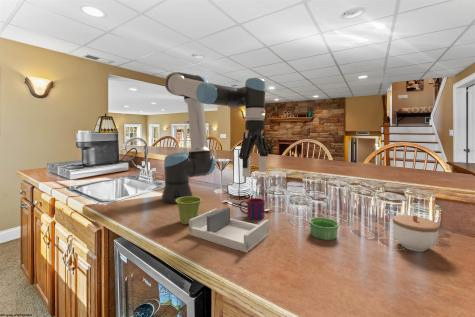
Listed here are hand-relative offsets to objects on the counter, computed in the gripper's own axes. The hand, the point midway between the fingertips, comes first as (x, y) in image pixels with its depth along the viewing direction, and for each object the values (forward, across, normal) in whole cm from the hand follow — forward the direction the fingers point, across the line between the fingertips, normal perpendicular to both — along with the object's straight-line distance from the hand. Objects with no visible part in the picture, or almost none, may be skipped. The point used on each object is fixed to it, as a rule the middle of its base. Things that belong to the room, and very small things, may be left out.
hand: (254, 174), depth 92 cm
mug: (+17, -1, 0) cm, 17 cm away
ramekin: (+17, -4, -28) cm, 33 cm away
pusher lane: (+17, -20, -1) cm, 26 cm away
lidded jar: (+17, +2, -52) cm, 55 cm away
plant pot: (+17, -19, +18) cm, 31 cm away
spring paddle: (+16, -20, +3) cm, 26 cm away
